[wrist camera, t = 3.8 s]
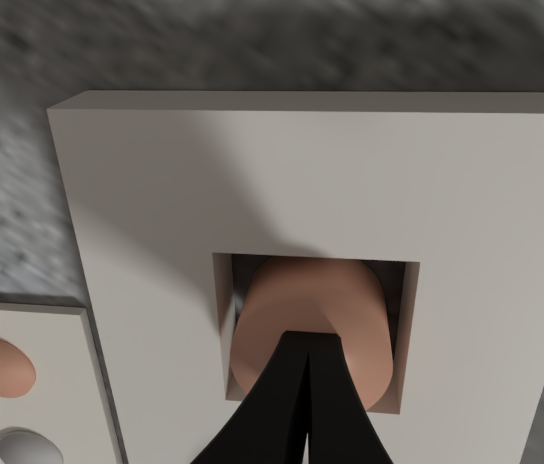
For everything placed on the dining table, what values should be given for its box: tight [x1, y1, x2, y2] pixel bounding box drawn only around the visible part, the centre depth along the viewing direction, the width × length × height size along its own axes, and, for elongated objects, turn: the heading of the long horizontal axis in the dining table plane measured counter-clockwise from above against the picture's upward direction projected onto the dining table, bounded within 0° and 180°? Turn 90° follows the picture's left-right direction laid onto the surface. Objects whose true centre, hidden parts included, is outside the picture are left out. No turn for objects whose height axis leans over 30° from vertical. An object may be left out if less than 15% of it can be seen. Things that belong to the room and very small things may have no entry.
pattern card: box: [0, 303, 123, 464], centre depth 20 cm, size 14×7×1 cm, turn 1°
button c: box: [230, 255, 393, 411], centre depth 13 cm, size 4×4×2 cm
